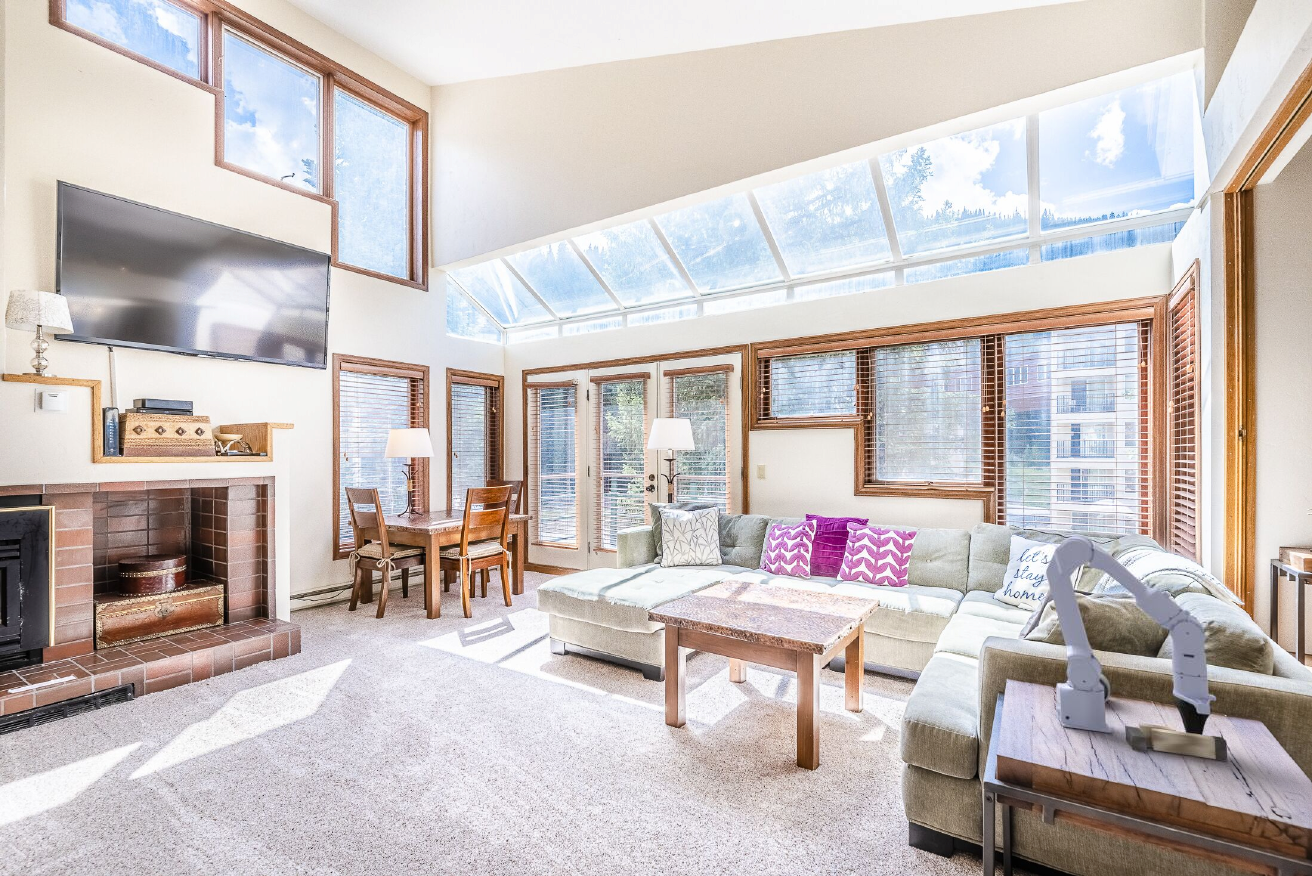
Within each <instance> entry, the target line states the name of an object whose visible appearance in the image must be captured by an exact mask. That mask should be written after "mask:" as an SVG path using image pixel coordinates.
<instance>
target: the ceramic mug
mask: <svg viewBox="0 0 1312 876" xmlns="http://www.w3.org/2000/svg"><path fill="white" fill-rule="evenodd" d="M1099 682H1100V683H1101V684H1102V685H1103V686H1104V698H1105V703H1106V702H1108V700H1109V698H1110V695H1111V686H1110V685H1111V684H1110V682H1109V680H1108V678H1107V677H1106V676H1105V675H1104V674H1103V673H1101V675H1100V681H1099Z"/></svg>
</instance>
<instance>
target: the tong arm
mask: <svg viewBox="0 0 1312 876" xmlns="http://www.w3.org/2000/svg"><path fill="white" fill-rule="evenodd" d="M1151 742H1152V747H1151V748H1152V750H1154V751H1159V752H1166V753H1171V754H1172V753H1173V754H1181V755H1186V756H1193V757H1199V758H1200V757H1201V758H1205V759H1211V760H1212V759H1213V760H1218V761H1224V762H1228V748H1227V747H1228V744H1227V740H1226V739H1225V738H1224V737H1222V736H1216V735H1207V734H1206V735H1205V734H1202V735H1199V734H1192V733H1186V731H1185V732H1183V731H1177V730H1176V731H1170V730H1163V729H1156V728H1151Z"/></svg>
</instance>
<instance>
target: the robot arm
mask: <svg viewBox="0 0 1312 876" xmlns="http://www.w3.org/2000/svg"><path fill="white" fill-rule="evenodd" d="M1087 563H1089V564H1088V566H1087V567H1088V568H1091V569H1096V570H1100V571H1103V572H1104V573H1106V574H1107V575H1108V576H1110V577H1111V578H1112V579H1113V580H1115V581H1116V582H1117V583H1119V585H1121V586H1122V587H1123V588H1124V589H1125V590H1127V591H1129V593H1131V594H1132V595H1133V596H1134V597H1135V605H1136V606H1137V607H1138V608H1139V609H1141V611H1143V612H1144V613H1145V614H1146V615H1147V616H1148V617H1150V618H1151V619H1152V620H1153V621H1154V622H1156V623H1157V624H1158V625H1159V626H1161V627H1162V628H1165V629H1167V630H1168V631H1169V635H1170V637H1171V639H1172V648H1171V649H1170V650H1171V651H1170V652H1171V662H1172V664H1171V665H1172V679H1173V689H1172V695H1173V696H1175V697H1176V698H1178V699H1175V698H1174V699H1172V702H1173V704H1174V705H1175V707H1176V709H1177V710H1178V712H1179V715H1180V718H1181V721H1182V724H1183V727H1184V730H1185V733H1192V734H1199V735H1204V734H1203V733H1204V729H1205V725H1206V722H1207V719H1208V718H1209V717H1210V715H1211V714H1212V712H1213V709H1212V708H1211V706H1210V702H1211V701H1217V697H1216V696H1215V695H1214V694H1209V682H1208V681H1209V679H1208V666H1207V665H1208V664H1207V654H1206V652H1205V650H1206V648H1205V647H1206V646H1205V644H1204V643H1205V641H1206V639H1207V634H1206V633H1205V632H1206V631H1205V629H1204V627H1203V624H1202V623H1201V622H1200V620H1198V619H1197V617H1195V616H1194V615H1191V612H1190V611H1189V610H1188V609H1185V610H1184V609H1183V608H1182V607H1181V606H1179V605H1178V604H1177V603H1176V602H1175V601H1174V600H1172V599H1171V598H1170V597H1171V595H1170V594H1169V592H1167V591H1166V590H1163V591H1162V590H1160V589H1159V588H1157V587H1148V586H1146V585H1145V584H1144V583H1143V582H1141V581H1140V580H1139V578H1137V577H1136V576H1135V575H1134V574H1133V573H1131V571H1129V570H1128V569H1127V568H1126V567H1125V566H1124V565H1123V564H1122V563H1121V562H1119V561H1118V560H1117V559H1116V558H1115V557H1113V556H1112V555H1111V554H1110V553H1109V552H1108V551H1106V550H1105V549H1103V548H1102V547H1100V546H1099V545H1097V544H1094V543H1093V542H1092V541H1091V539H1089V538H1087V537H1086V536H1083V535H1079V534H1076V535H1071V536H1069V537H1068V538H1067V539H1065V540H1064V541H1063V542H1061V543H1060V544H1059V545H1058V546H1057V547H1056V548H1055V550H1054V552H1053V555H1052V557H1051V559H1050V561H1049V563H1048V565H1047V568H1046V571H1045V573H1046V574H1045V575H1046V578H1047V582H1048V584H1049V589H1050V592H1051V593H1050V594H1051V597H1052V600H1053V604H1054V607H1055V611H1056V613H1057V619H1058V621H1059V625H1060V630H1061V633H1062V636H1063V641H1064V645H1065V649H1066V660H1067V663H1068V665H1067V669H1066V676H1067V678H1068V679H1067V680H1066V682H1065V683H1061V682H1060V683H1059V682H1058V683H1056V688H1055V689H1056V714H1057V715H1056V716H1057V718H1058V719H1059V722H1060V723H1061V726H1062V727H1065V728H1074V729H1080V730H1086V731H1091V732H1092V731H1093V732H1100V733H1107V734H1108V733H1109V734H1112V730H1111V728H1110V727H1109V725H1108V724H1107V720H1106V719H1107V718H1106V702H1105V698H1104V686H1103V685H1102V684H1101V683H1100V682H1099V681H1100V675H1101V674H1103V673H1102V672H1103V667H1102V664H1101V662H1100V661H1099V659H1097V657H1096V656H1095V655H1094V652H1093V649H1092V646H1091V645H1090V642H1089V640H1088V636H1087V631H1086V628H1085V625H1084V622H1083V618H1082V613H1081V610H1080V606H1079V603H1078V600H1077V596H1076V593H1075V589H1074V586H1073V583H1072V580H1071V576H1072V575H1073V574H1074V573H1075V571H1076V570H1077V569H1078V568H1080V567H1081V566H1083V565H1085V564H1087Z"/></svg>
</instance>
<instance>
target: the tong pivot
mask: <svg viewBox="0 0 1312 876" xmlns="http://www.w3.org/2000/svg"><path fill="white" fill-rule="evenodd" d="M1138 724H1139V725H1138V726H1139V727H1135V726H1131V725H1130V726H1128V725H1125V726H1124V728H1125V741H1126V742H1127V744H1128V745H1129V746H1130V748H1131V749H1132V750H1133V751H1139V752H1145V753H1146V752H1147V750H1148V749H1147V748H1152V742H1151V728H1156V729H1163V730H1170V731H1177V730H1176V729H1175V728H1174V727H1172V726H1166V725H1165V726H1164V725H1157V724H1148V723H1143V722H1142V723H1141V722H1139V723H1138Z"/></svg>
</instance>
